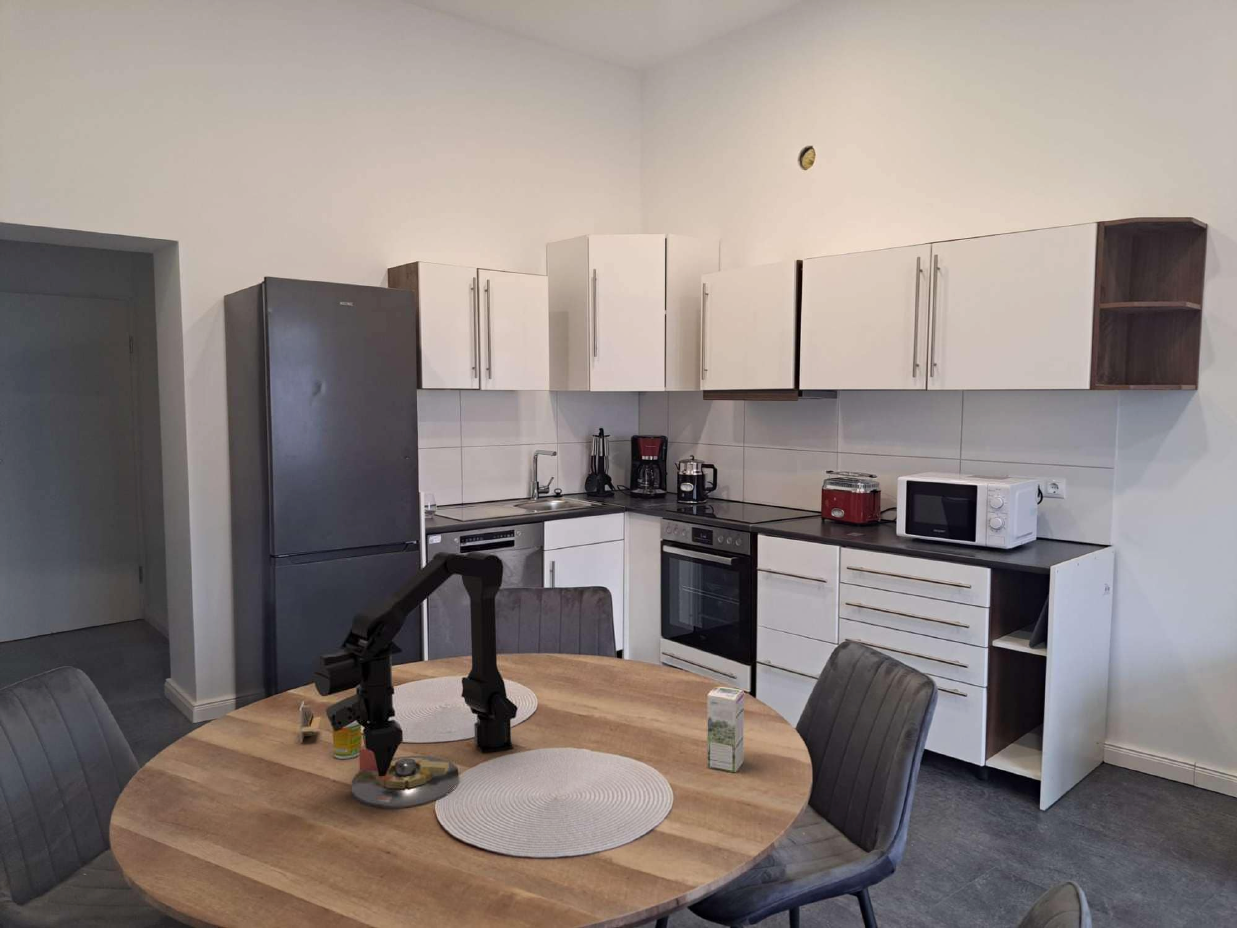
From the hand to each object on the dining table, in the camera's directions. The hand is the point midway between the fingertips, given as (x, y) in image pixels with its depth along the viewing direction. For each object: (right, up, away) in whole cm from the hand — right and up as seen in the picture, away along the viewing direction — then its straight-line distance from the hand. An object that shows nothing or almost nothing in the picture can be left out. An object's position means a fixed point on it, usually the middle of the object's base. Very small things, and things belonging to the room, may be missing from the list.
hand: (378, 765), depth 153 cm
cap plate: (+4, -4, +2) cm, 6 cm away
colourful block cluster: (+4, -3, +2) cm, 5 cm away
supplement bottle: (-11, -3, +15) cm, 19 cm away
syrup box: (+64, -3, +9) cm, 65 cm away
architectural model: (-22, -3, +24) cm, 32 cm away
